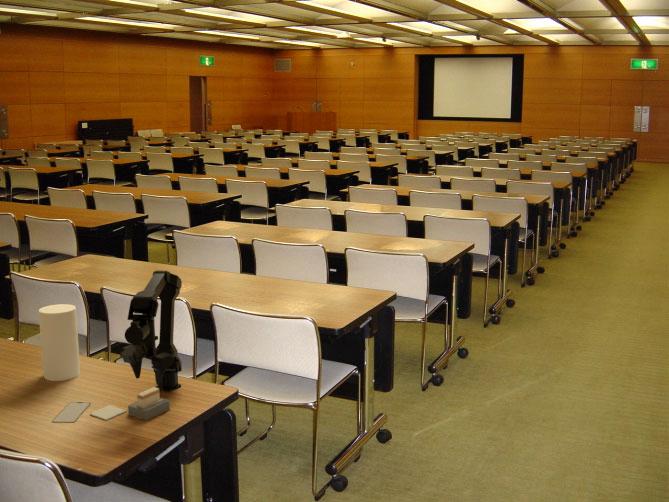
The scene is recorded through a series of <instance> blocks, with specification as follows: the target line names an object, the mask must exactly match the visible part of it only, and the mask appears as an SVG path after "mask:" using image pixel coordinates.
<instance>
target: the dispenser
mask: <svg viewBox="0 0 669 502" xmlns="http://www.w3.org/2000/svg"><path fill="white" fill-rule="evenodd" d="M170 407H171V406H170V400H169V399H165V398H163V397H160V400H159V401H156V402H154V403H152V404H150V405H147V406H145V407H143V408H140V407H138V400H137V401H135V402H132V403H131V404H128V405H127V411H128V412H127V414H128V415H130V416H132V417H135V418H138V419H141V420H144V421H147V420H150V419H152V418H154V417H157V416H159V415H160V414H163V413H165V412H168V411H170V409H171V408H170Z"/></svg>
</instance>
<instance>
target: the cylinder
mask: <svg viewBox="0 0 669 502" xmlns="http://www.w3.org/2000/svg"><path fill="white" fill-rule="evenodd" d="M38 322H39V333H40V336H39V337H40V348H41V360H42V373H43V379H44V378H45V379H44V380H46V379H47V380H46V381H49V380H50V382H62V381H69V380H73V379H75V378H77V377H78V376H79V375H80V374H81V364H80V362H81V361H80V349H79V335H78V334H79V333H78V318H77V308H76V306H75V305H74V304H67V303H58V304H51V305H46V306H42V307H41V308H39V309H38Z"/></svg>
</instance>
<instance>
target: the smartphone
mask: <svg viewBox="0 0 669 502" xmlns="http://www.w3.org/2000/svg"><path fill="white" fill-rule="evenodd" d="M91 404H92V403H91V402H87V401H83V402H81V401H79V402H77V401H73V402H71V401H70V402H68V403H67V404H66V406H65V407H63V408H62V410H61V411H60V412H59V413H58V414H57V415H56V416H55V417H54V418H53V419H52V421H51V422H52V423H54V424H55V423H56V424H57V423H59V424H62V423H63V424H64V423H65V424H67V423H68V424H71V423H73V424H74V423H76V422H77V421H78V420H79V418H80V417H81V416H82V415H83V414H84V412H86V411H87V410H88V409H89V407H90V406H91Z"/></svg>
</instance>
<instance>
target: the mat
mask: <svg viewBox="0 0 669 502" xmlns="http://www.w3.org/2000/svg"><path fill="white" fill-rule="evenodd" d="M127 411H128V410H126V409H123V408H120V407H117V406H114V405H111V404H108V405H107V406H104V407H102V408H100V409H97V410H95V411H92V412H90V413H89V415H90V416H92V417H95V418H97V419H101V420H103V421H106V422H107V421H109V420H111V419H114V418H115V417H118V416H120V415H123V414H125V413H128V412H127Z"/></svg>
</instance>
